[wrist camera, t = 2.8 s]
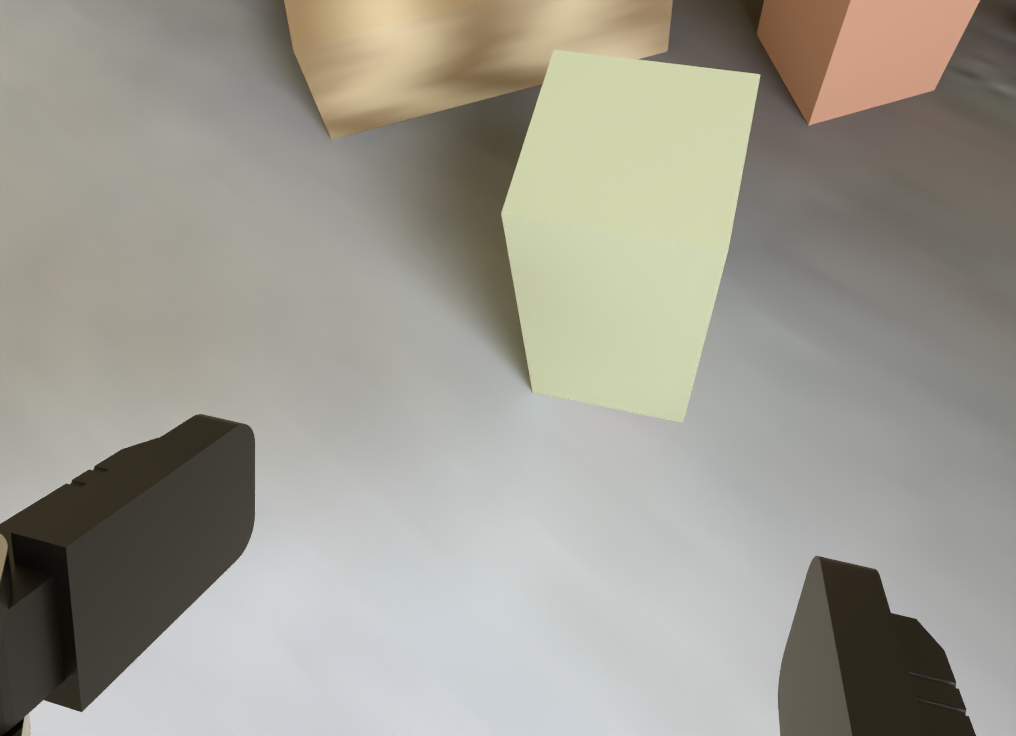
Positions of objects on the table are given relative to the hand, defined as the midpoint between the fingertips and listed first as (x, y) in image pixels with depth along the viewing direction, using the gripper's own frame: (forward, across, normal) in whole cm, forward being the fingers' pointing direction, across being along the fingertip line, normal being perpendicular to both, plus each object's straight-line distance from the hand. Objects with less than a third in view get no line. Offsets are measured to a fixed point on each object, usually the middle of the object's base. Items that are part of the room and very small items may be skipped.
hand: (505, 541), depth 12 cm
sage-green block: (+17, 0, +2) cm, 17 cm away
